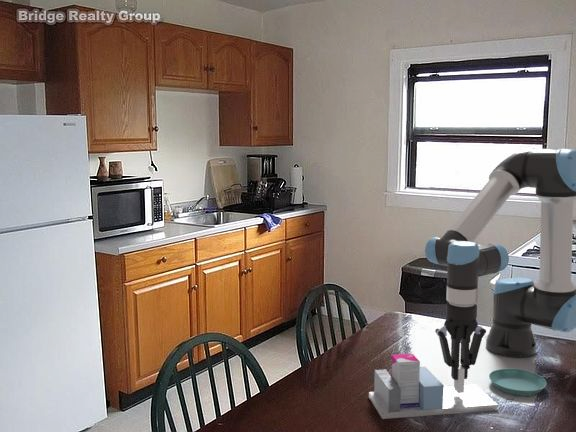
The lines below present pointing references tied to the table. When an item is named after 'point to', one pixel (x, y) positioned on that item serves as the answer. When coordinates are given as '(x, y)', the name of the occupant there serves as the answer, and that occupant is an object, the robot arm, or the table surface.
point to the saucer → (517, 381)
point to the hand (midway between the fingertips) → (458, 390)
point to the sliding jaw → (430, 390)
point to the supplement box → (407, 377)
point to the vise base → (389, 406)
